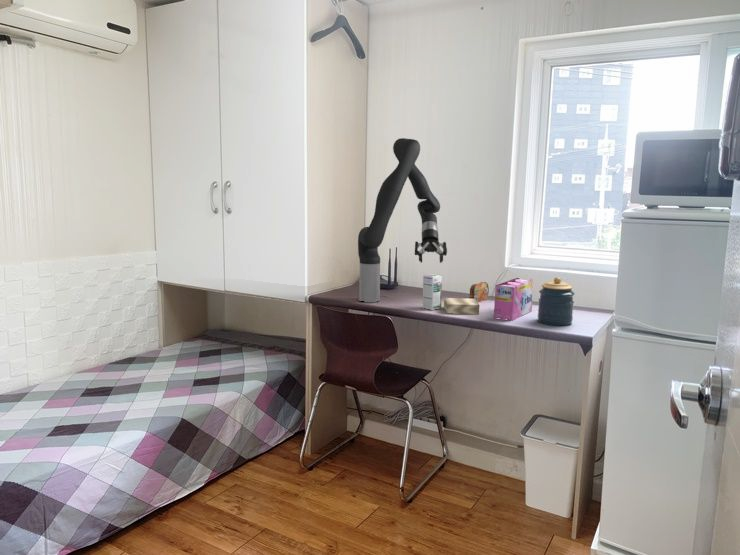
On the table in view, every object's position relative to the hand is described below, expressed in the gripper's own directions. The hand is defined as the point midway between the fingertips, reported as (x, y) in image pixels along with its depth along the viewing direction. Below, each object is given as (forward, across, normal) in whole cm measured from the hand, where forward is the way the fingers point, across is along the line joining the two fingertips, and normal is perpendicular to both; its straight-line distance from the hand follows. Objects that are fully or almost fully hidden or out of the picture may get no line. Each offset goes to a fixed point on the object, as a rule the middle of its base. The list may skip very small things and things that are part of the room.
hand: (431, 261), depth 244 cm
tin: (+8, +23, +19) cm, 31 cm away
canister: (+35, +46, -8) cm, 58 cm away
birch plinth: (+23, +12, +4) cm, 26 cm away
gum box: (+27, +33, 0) cm, 42 cm away
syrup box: (+21, 0, +6) cm, 22 cm away
